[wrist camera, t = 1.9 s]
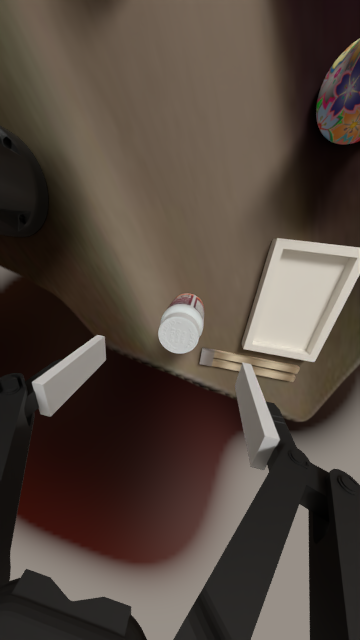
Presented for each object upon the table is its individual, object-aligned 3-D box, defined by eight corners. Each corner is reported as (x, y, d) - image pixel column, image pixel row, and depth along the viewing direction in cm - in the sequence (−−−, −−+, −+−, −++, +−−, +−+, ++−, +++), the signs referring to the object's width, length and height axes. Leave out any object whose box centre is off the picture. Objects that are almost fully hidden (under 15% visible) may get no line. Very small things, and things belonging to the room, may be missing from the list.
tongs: (199, 360, 35) (199, 364, 34) (202, 347, 34) (202, 350, 33) (290, 378, 33) (293, 382, 32) (297, 365, 32) (300, 369, 31)
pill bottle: (165, 313, 32) (145, 341, 22) (181, 286, 30) (167, 303, 20) (193, 330, 33) (186, 365, 22) (211, 304, 30) (212, 330, 20)
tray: (241, 343, 32) (243, 349, 30) (272, 239, 25) (277, 238, 23) (308, 355, 31) (314, 362, 29) (359, 249, 24) (372, 249, 22)
